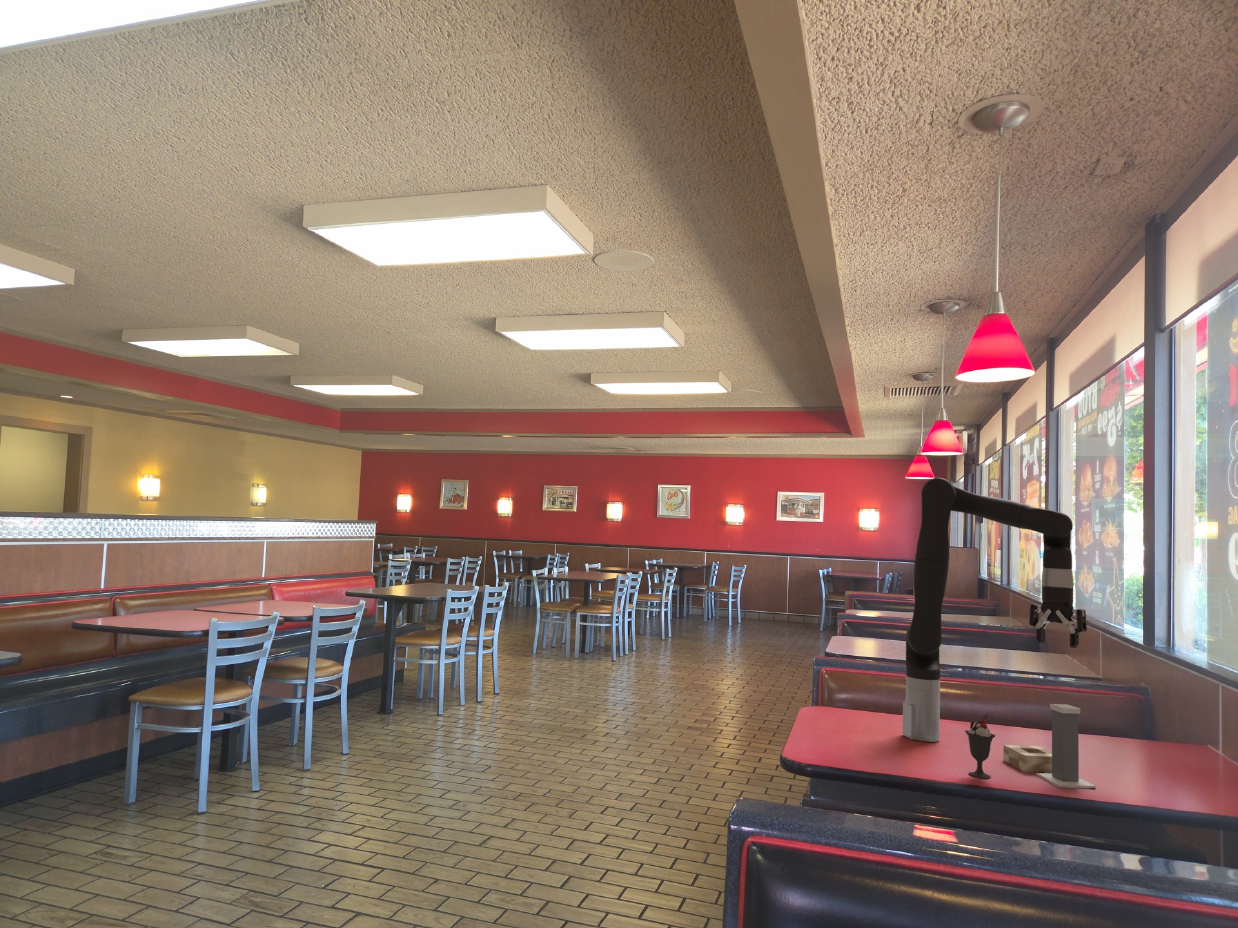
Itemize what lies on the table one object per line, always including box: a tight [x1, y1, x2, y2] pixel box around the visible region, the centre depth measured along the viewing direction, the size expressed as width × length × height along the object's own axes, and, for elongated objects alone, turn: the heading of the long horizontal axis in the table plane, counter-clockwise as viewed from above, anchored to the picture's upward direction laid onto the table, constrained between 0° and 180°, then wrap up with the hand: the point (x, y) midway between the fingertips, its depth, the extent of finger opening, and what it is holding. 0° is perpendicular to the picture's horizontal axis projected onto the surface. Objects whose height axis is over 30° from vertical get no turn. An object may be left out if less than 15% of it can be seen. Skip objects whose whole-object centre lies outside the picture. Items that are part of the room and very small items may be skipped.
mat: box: [1035, 772, 1097, 789], centre depth 186 cm, size 9×9×1 cm
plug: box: [1049, 703, 1081, 782], centre depth 187 cm, size 5×5×17 cm
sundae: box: [964, 714, 996, 780], centre depth 188 cm, size 7×7×15 cm
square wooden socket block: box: [1003, 744, 1052, 773], centre depth 198 cm, size 10×10×4 cm
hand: (1057, 645), depth 210 cm, fingers open, 8 cm apart
